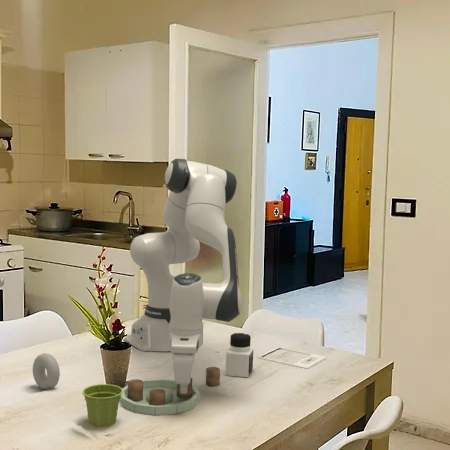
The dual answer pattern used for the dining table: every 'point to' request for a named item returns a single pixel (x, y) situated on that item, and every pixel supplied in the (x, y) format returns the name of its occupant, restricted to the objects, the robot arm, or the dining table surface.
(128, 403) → the tray
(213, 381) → the wooden cylinder
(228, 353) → the medicine bottle
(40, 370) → the donut
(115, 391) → the plant pot
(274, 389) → the dining table surface
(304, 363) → the photo frame
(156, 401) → the seated bead
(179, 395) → the loose bead
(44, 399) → the dining table surface
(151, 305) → the robot arm
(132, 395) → the seated bead
